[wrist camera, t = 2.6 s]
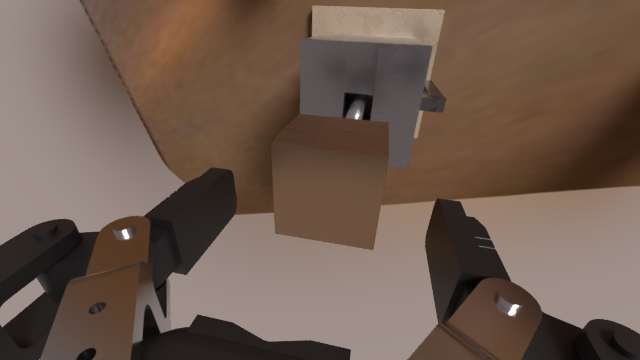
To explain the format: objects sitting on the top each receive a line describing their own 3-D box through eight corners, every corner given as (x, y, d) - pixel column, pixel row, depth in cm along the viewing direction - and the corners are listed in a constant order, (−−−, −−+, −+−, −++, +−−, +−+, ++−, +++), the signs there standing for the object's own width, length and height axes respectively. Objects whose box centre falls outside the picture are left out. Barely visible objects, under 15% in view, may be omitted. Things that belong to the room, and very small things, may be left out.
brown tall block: (404, 56, 27) (440, 121, 9) (392, 128, 31) (400, 278, 13) (331, 52, 28) (231, 101, 10) (327, 121, 32) (249, 251, 14)
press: (442, 10, 34) (490, -2, 19) (416, 134, 42) (433, 201, 26) (315, 6, 37) (261, -8, 21) (312, 124, 45) (271, 178, 29)
